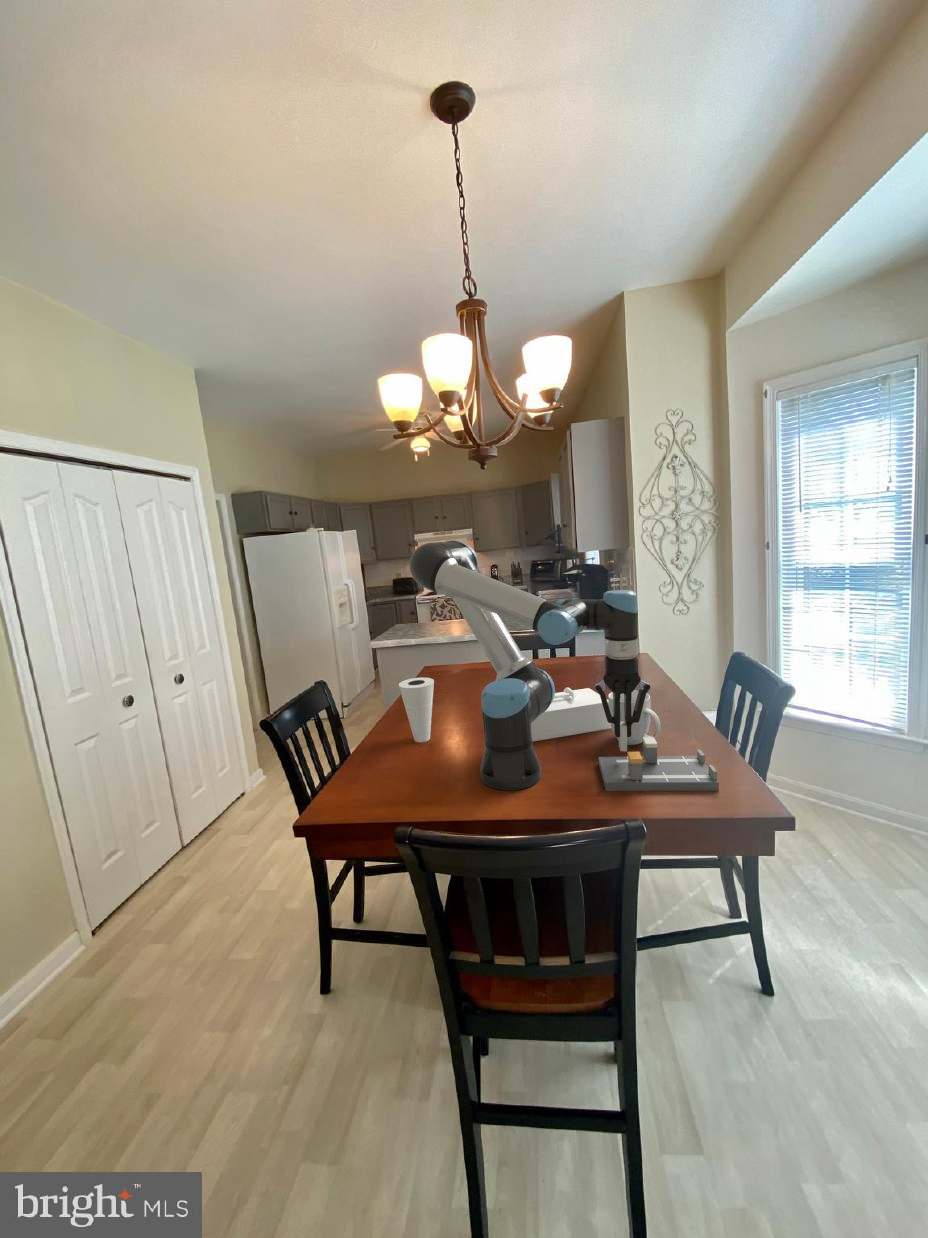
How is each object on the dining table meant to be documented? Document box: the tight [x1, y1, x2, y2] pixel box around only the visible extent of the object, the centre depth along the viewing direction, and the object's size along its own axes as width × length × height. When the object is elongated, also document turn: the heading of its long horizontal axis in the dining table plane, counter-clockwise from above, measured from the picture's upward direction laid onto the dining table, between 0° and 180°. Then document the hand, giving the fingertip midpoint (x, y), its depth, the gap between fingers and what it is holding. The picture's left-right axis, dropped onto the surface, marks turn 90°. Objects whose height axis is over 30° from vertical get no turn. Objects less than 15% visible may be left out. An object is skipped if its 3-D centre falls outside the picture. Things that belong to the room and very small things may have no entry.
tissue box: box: [531, 687, 612, 743], centre depth 147 cm, size 14×25×11 cm, turn 101°
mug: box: [607, 689, 662, 746], centre depth 131 cm, size 15×11×13 cm
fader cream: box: [642, 737, 659, 763], centre depth 117 cm, size 3×4×5 cm
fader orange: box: [626, 751, 643, 780], centre depth 110 cm, size 3×4×5 cm
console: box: [598, 749, 720, 792], centre depth 113 cm, size 24×13×4 cm, turn 81°
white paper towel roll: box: [398, 677, 435, 743], centre depth 146 cm, size 11×11×18 cm
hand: (622, 748), depth 118 cm, fingers closed
